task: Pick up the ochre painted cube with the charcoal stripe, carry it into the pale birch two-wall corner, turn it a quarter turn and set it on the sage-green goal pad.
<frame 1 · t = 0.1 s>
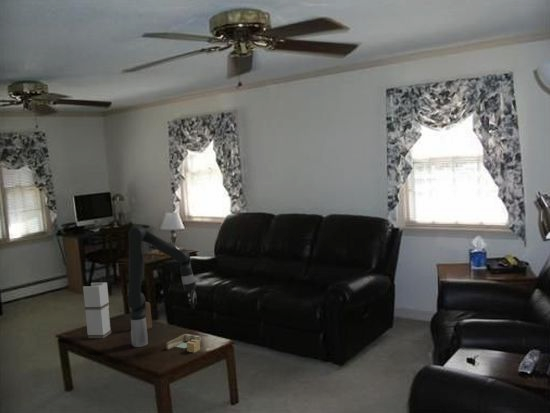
hand: (194, 306, 307), 22 cm above the table, tool pointing down, fingers open, 8 cm apart
wooden block: (145, 329, 340), on the table
ochre cube: (193, 350, 294), on the table
goal pad: (184, 345, 303), on the table
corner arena: (185, 345, 303), on the table
stacked white cabinet: (99, 335, 333), on the table
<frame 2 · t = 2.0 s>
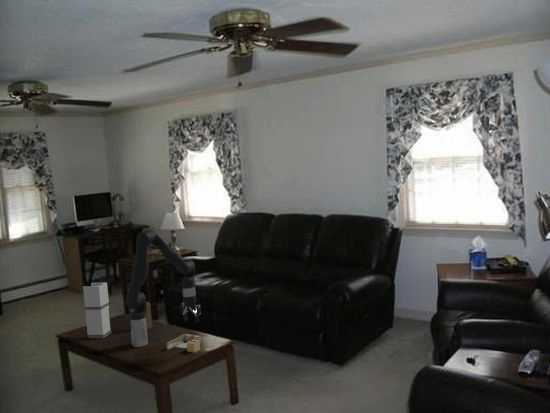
hand: (191, 321, 293), 18 cm above the table, tool pointing down, fingers open, 8 cm apart
nothing on the table moved.
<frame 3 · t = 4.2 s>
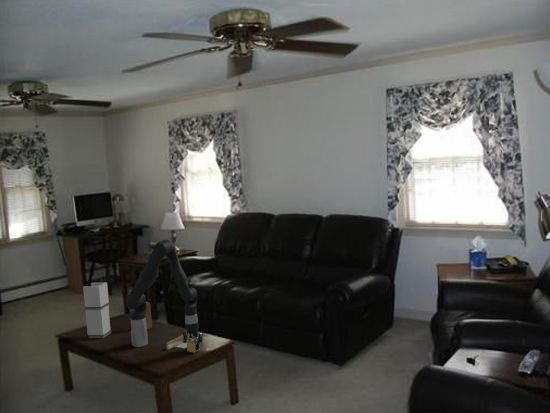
hand: (193, 348, 294), 1 cm above the table, tool pointing down, fingers closed on ochre cube, 5 cm apart
ochre cube: (193, 350, 294), on the table, touching gripper
everything else where it was.
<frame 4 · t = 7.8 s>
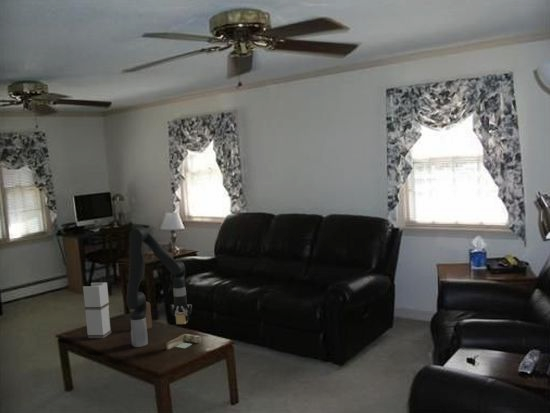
hand: (182, 321, 302), 15 cm above the table, tool pointing down, fingers closed on ochre cube, 5 cm apart
ochre cube: (182, 322, 302), point 14 cm above the table, touching gripper
everything else where it was.
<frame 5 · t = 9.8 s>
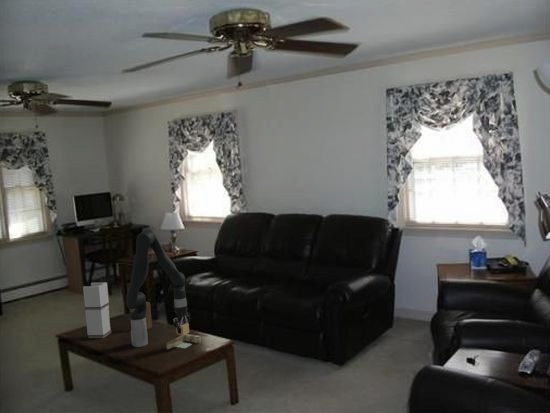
hand: (182, 331, 303), 9 cm above the table, tool pointing down, fingers closed on ochre cube, 5 cm apart
ochre cube: (182, 333, 303), point 8 cm above the table, touching gripper
everything else where it was.
when the fingers open (2 cm above the table, at t = 11.6 s): ochre cube drops 1 cm, resting on goal pad.
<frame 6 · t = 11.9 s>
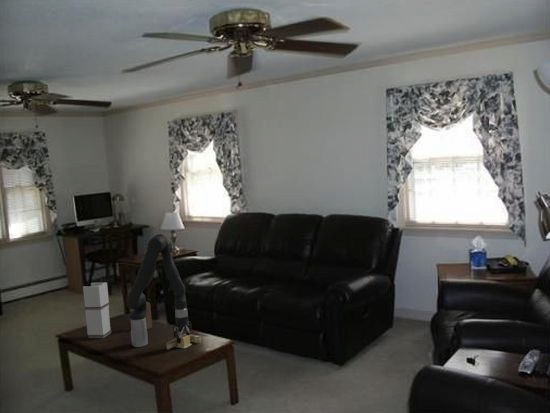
hand: (183, 341, 303), 3 cm above the table, tool pointing down, fingers open, 8 cm apart
ochre cube: (184, 345, 303), resting on goal pad
everything else where it was.
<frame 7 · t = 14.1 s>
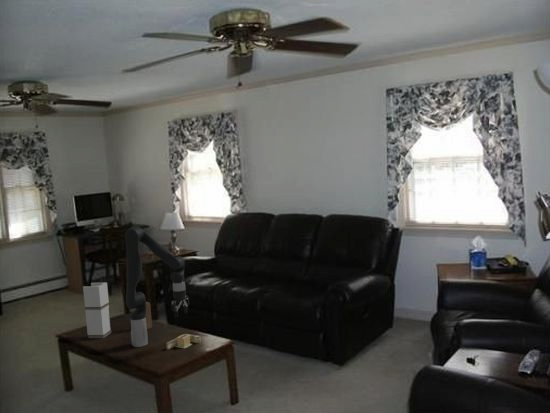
hand: (181, 314, 302), 19 cm above the table, tool pointing down, fingers open, 8 cm apart
nothing on the table moved.
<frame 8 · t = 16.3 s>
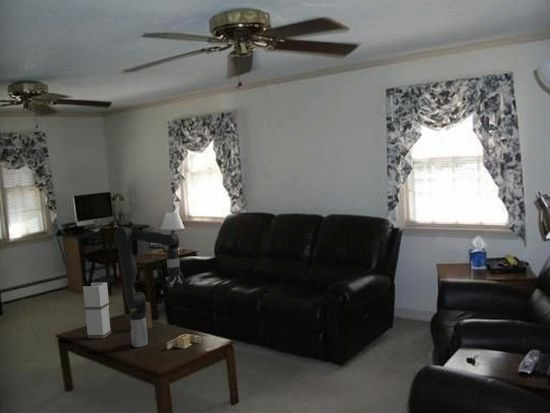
hand: (175, 291, 306), 33 cm above the table, tool pointing down, fingers open, 8 cm apart
nothing on the table moved.
at the end: ochre cube 0.0 cm from the target spot, resting on goal pad; ochre cube tilted 0°; the gripper is holding nothing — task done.
